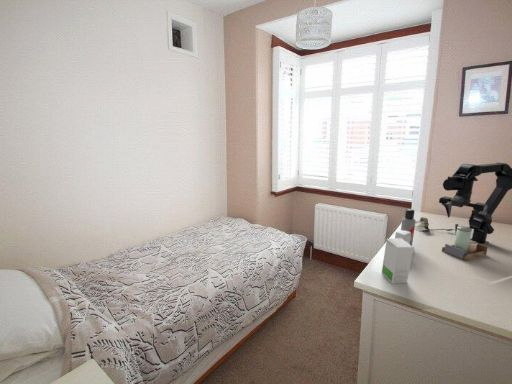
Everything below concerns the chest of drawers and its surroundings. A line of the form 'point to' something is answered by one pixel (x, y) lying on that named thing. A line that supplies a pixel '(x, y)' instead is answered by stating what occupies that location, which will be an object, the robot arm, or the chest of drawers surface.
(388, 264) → the skincare box
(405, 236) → the skincare box
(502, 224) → the chest of drawers surface
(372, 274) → the chest of drawers surface
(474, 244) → the jar
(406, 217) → the lotion bottle
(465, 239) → the mint green grey canister
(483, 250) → the wooden tray
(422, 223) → the artificial flower
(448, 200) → the robot arm
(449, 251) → the bar
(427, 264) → the chest of drawers surface
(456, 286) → the chest of drawers surface
